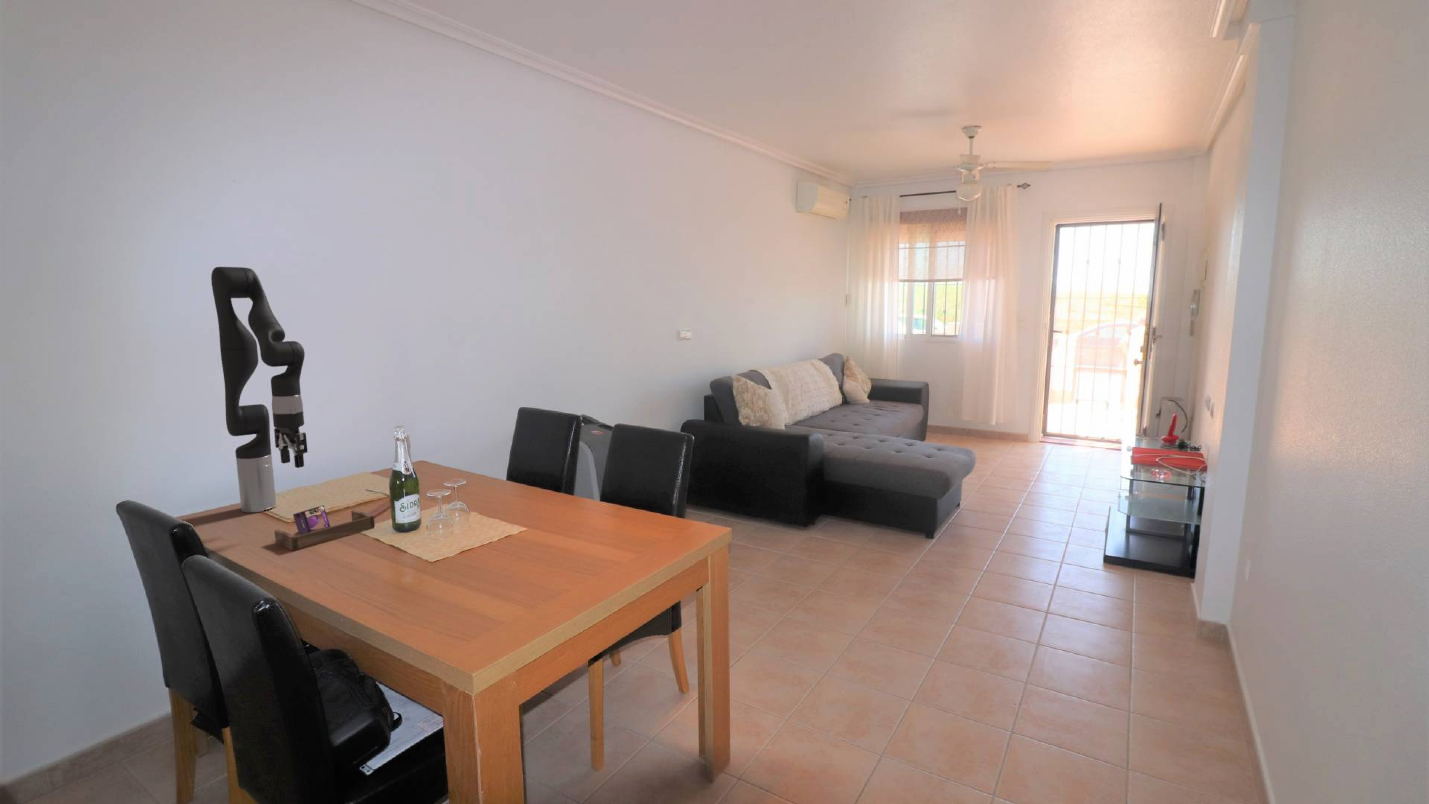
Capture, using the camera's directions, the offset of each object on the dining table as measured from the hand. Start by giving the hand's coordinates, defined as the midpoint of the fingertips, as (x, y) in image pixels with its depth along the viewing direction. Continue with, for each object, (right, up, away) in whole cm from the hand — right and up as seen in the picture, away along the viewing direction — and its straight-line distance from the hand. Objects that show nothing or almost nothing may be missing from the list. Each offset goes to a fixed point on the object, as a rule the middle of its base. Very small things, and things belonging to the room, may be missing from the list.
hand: (292, 465), depth 196 cm
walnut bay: (+14, -19, -6) cm, 24 cm away
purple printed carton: (+7, -19, -3) cm, 20 cm away
